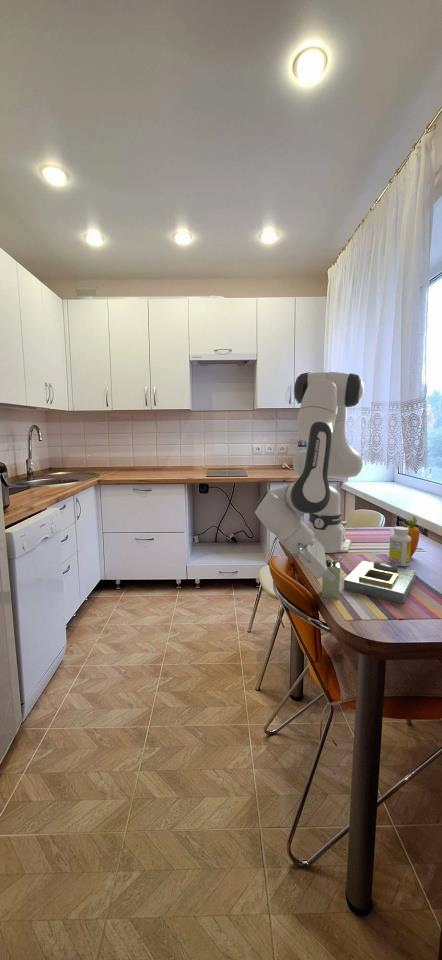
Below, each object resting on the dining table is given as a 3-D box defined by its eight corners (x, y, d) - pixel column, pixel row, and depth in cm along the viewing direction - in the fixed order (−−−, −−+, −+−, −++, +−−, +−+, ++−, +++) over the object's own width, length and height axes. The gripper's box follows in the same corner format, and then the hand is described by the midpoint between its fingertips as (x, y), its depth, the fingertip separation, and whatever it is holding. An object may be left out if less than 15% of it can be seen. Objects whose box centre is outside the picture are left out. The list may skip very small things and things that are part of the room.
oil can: (321, 591, 111) (323, 552, 109) (340, 592, 110) (342, 553, 108) (322, 597, 106) (324, 557, 105) (341, 599, 105) (343, 558, 104)
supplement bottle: (405, 560, 136) (407, 525, 135) (412, 567, 130) (415, 530, 128) (385, 560, 137) (388, 525, 135) (392, 566, 131) (394, 530, 129)
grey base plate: (364, 567, 130) (365, 554, 129) (416, 577, 121) (417, 564, 120) (343, 589, 112) (344, 574, 111) (403, 603, 103) (404, 588, 102)
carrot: (409, 559, 137) (412, 519, 135) (399, 555, 142) (402, 516, 140) (420, 558, 139) (423, 518, 137) (410, 554, 143) (413, 515, 141)
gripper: (307, 542, 97) (345, 582, 96) (307, 523, 117) (338, 556, 116) (289, 558, 99) (326, 597, 98) (292, 536, 119) (323, 569, 118)
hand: (333, 575), depth 107 cm, fingers closed on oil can, 4 cm apart
